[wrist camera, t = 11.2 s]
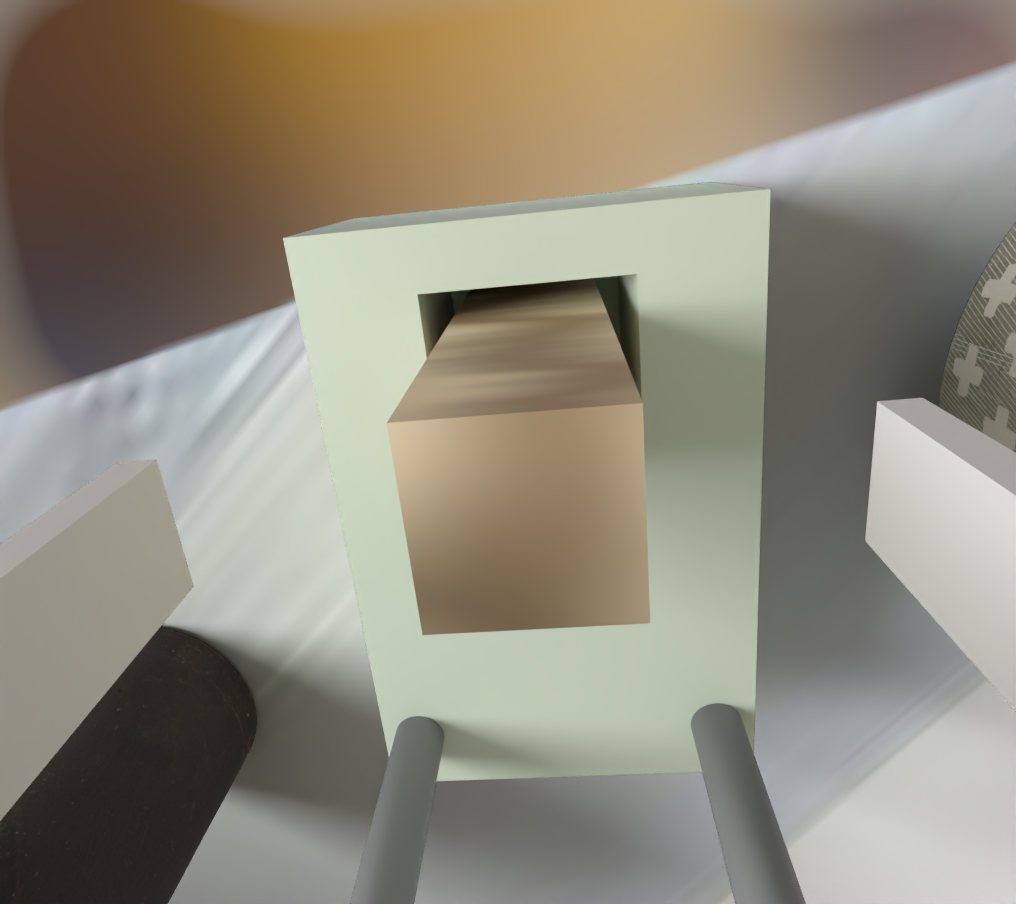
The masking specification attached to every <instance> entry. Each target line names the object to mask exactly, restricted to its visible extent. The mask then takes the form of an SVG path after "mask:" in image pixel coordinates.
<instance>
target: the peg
mask: <svg viewBox="0 0 1016 904" xmlns="http://www.w3.org/2000/svg"><path fill="white" fill-rule="evenodd" d="M387 428H388V434H389V440H390V446H391V452H392V458H393V464H394V470H395V476H396V482H397V488H398V494H399V499H400V505H401V511H402V517H403V523H404V529H405V535H406V541H407V547H408V553H409V559H410V565H411V570H412V576H413V582H414V588H415V594H416V600H417V606H418V612H419V618H420V624H421V630H422V635H437V634H456V633H476V632H495V631H514V630H533V629H552V628H572V627H591V626H610V625H629V624H648V623H650V602H649V572H648V542H647V512H646V482H645V452H644V422H643V402H642V400H641V397H640V395H639V392H638V389H637V387H636V384H635V382H634V379H633V377H632V374H631V372H630V369H629V366H628V364H627V361H626V359H625V356H624V354H623V351H622V349H621V346H620V344H619V341H618V338H617V336H616V333H615V331H614V328H613V326H612V323H611V321H610V318H609V316H608V313H607V310H606V308H605V305H604V303H603V300H602V298H601V295H600V293H599V290H598V287H597V285H596V282H595V280H594V278H589V279H578V280H567V281H557V282H546V283H535V284H524V285H513V286H503V287H492V288H481V289H470V291H469V293H468V294H467V296H466V297H465V299H464V301H463V302H462V304H461V305H460V307H459V309H458V310H457V312H456V313H455V315H454V317H453V318H452V320H451V321H450V323H449V324H448V326H447V328H446V329H445V331H444V332H443V334H442V336H441V337H440V339H439V340H438V342H437V344H436V345H435V347H434V348H433V350H432V352H431V353H430V355H429V356H428V358H427V359H426V361H425V363H424V364H423V366H422V367H421V369H420V371H419V372H418V374H417V375H416V377H415V379H414V380H413V382H412V383H411V385H410V387H409V388H408V390H407V391H406V393H405V395H404V396H403V398H402V399H401V401H400V402H399V404H398V406H397V407H396V409H395V410H394V412H393V414H392V415H391V417H390V418H389V420H388V422H387Z"/></svg>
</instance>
